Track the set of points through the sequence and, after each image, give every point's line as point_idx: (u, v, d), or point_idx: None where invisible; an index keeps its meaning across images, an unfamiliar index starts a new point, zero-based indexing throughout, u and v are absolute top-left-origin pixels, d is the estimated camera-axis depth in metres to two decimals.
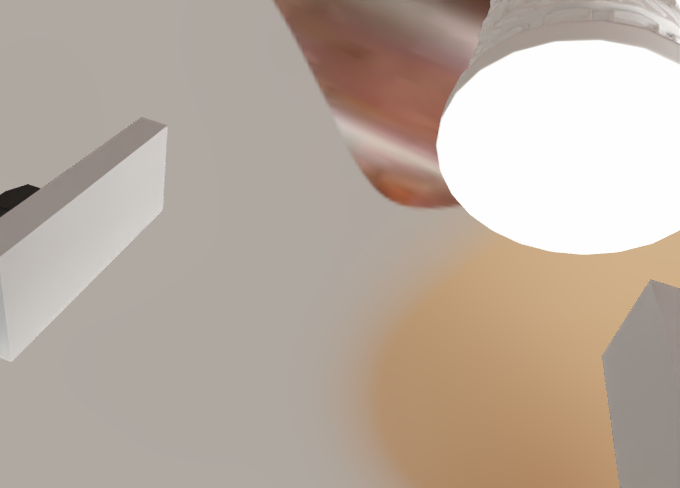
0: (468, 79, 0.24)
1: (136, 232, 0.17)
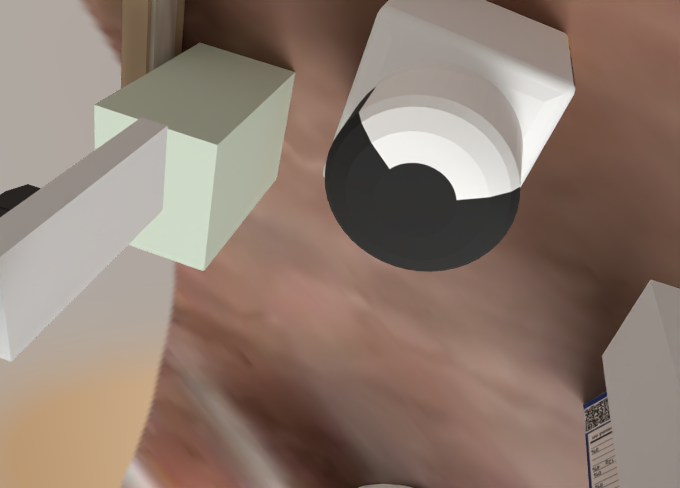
0: None
1: (136, 232, 0.17)
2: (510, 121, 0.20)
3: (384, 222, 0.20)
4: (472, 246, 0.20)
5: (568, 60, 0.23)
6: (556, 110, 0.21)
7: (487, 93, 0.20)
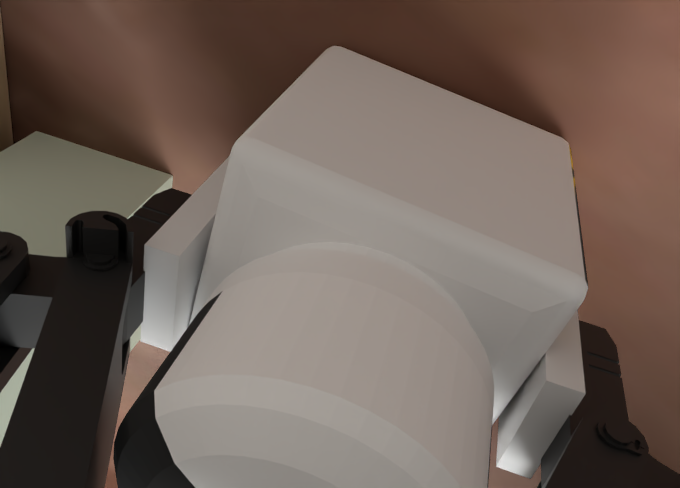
0: None
1: None
2: (466, 380, 0.10)
3: None
4: None
5: (573, 210, 0.14)
6: (554, 324, 0.12)
7: (422, 328, 0.10)
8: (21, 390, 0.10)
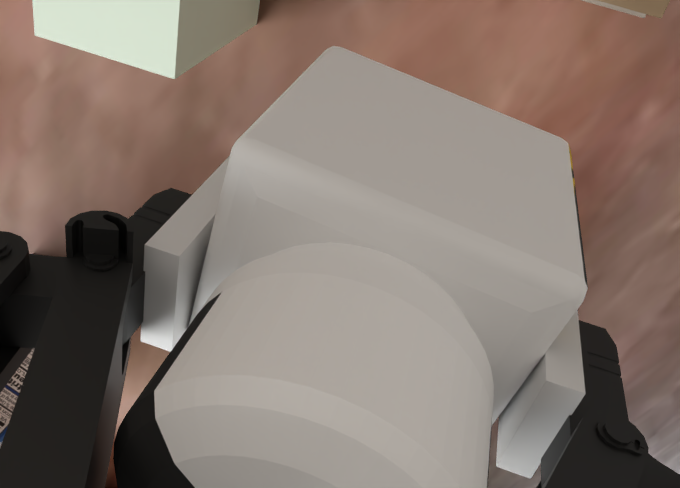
0: None
1: None
2: (466, 381, 0.10)
3: None
4: None
5: (572, 211, 0.14)
6: (553, 324, 0.12)
7: (422, 328, 0.10)
8: (21, 390, 0.10)
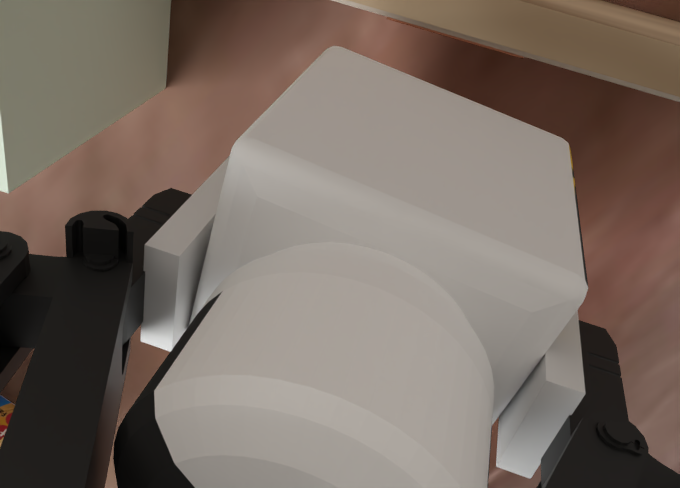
0: None
1: None
2: (466, 380, 0.10)
3: None
4: None
5: (573, 211, 0.14)
6: (554, 324, 0.12)
7: (422, 327, 0.10)
8: (21, 390, 0.10)
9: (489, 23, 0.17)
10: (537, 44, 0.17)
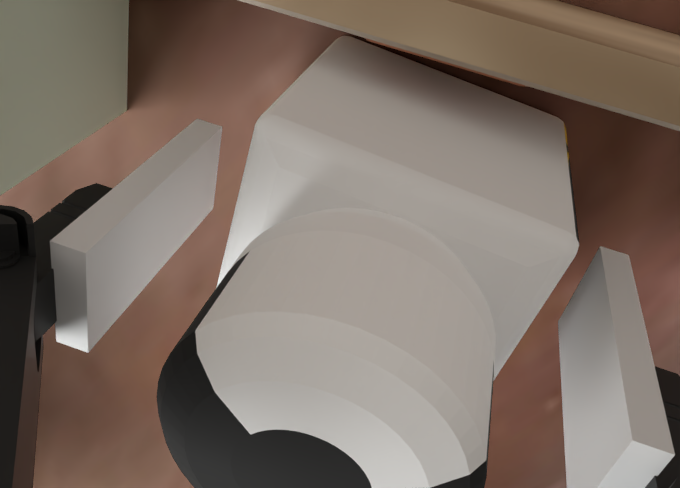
0: None
1: (191, 229, 0.18)
2: (469, 323, 0.11)
3: None
4: None
5: (566, 179, 0.15)
6: (549, 278, 0.13)
7: (429, 276, 0.11)
8: None
9: (485, 47, 0.14)
10: (542, 72, 0.14)
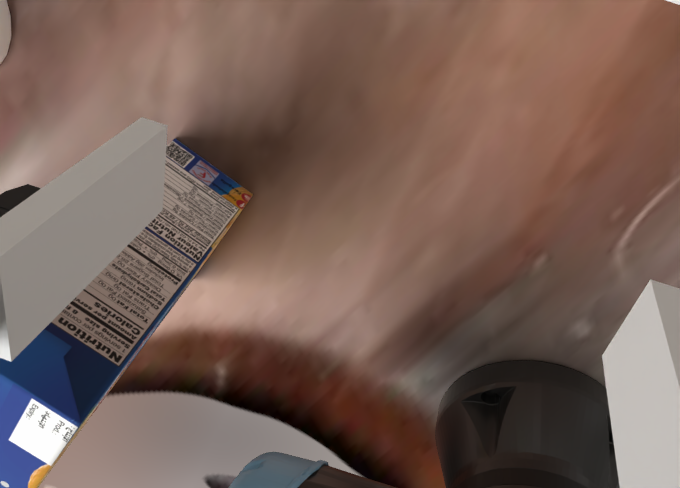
0: None
1: (136, 232, 0.17)
2: None
3: None
4: None
5: None
6: None
7: None
8: None
9: None
10: None
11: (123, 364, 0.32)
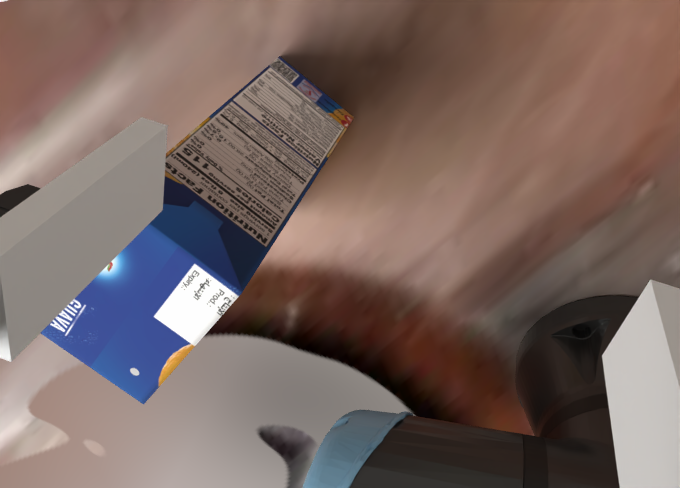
0: None
1: (136, 232, 0.17)
2: None
3: None
4: None
5: None
6: None
7: None
8: None
9: None
10: None
11: (269, 246, 0.32)
